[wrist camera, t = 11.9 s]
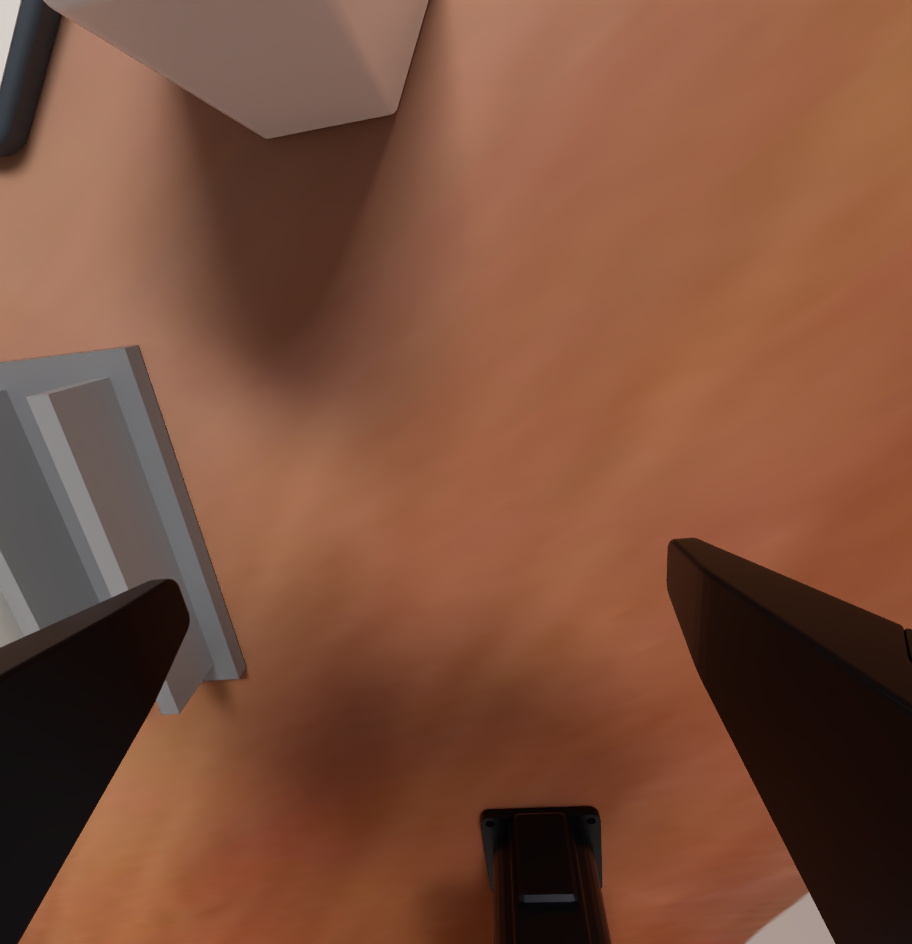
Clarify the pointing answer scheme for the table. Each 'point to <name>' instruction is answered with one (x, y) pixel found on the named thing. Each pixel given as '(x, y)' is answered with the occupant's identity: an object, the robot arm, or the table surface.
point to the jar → (268, 54)
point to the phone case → (22, 66)
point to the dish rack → (102, 506)
